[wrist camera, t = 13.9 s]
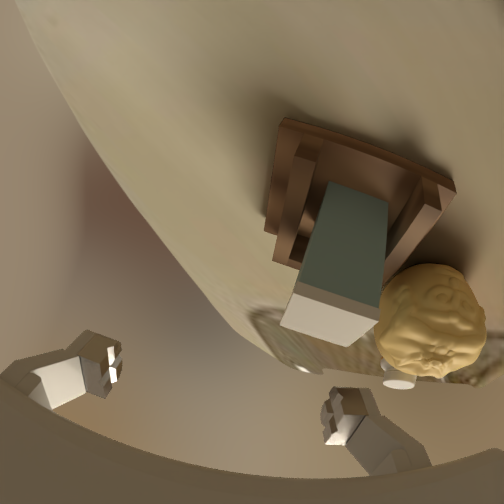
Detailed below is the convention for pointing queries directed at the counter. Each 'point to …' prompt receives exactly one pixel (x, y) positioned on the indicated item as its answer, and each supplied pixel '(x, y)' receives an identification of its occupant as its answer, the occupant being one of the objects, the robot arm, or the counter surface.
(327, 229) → the tin
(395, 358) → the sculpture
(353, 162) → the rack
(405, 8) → the counter surface
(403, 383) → the supplement bottle
